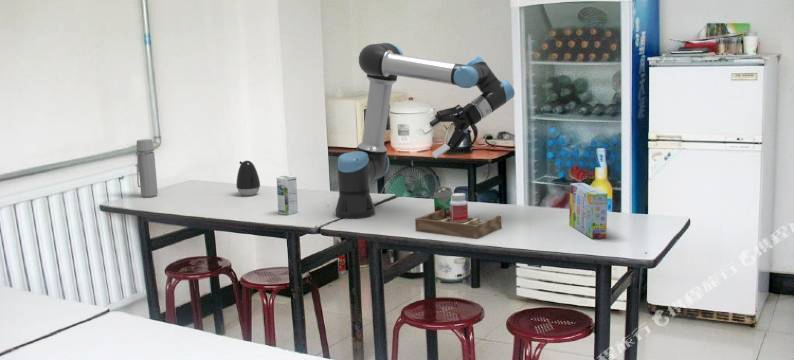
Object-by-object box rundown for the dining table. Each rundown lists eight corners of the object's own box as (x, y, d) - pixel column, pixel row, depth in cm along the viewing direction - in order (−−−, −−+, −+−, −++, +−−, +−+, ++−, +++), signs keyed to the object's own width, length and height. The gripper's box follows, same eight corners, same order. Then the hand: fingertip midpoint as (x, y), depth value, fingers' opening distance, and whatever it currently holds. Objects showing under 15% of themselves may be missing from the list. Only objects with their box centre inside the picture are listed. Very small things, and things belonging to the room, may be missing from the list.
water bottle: (150, 194, 381) (145, 138, 377) (162, 195, 376) (157, 139, 372) (133, 197, 374) (128, 141, 369) (145, 199, 369) (139, 142, 365)
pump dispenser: (252, 191, 378) (249, 157, 375) (265, 194, 370) (263, 160, 368) (232, 195, 371) (229, 161, 368) (245, 198, 363) (242, 163, 361)
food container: (450, 219, 310) (450, 192, 308) (434, 219, 311) (433, 192, 309) (455, 212, 322) (454, 186, 320) (439, 212, 323) (438, 186, 321)
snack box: (608, 238, 275) (608, 193, 273) (591, 239, 275) (591, 194, 272) (583, 224, 296) (583, 181, 293) (568, 225, 295) (568, 182, 292)
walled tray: (441, 220, 309) (441, 209, 308) (501, 227, 295) (501, 215, 294) (415, 230, 295) (415, 218, 294) (476, 238, 281) (476, 226, 280)
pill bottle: (471, 225, 294) (471, 194, 292) (457, 228, 291) (457, 196, 289) (460, 222, 299) (459, 191, 297) (446, 225, 296) (445, 194, 294)
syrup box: (277, 213, 330) (275, 177, 328) (289, 211, 334) (287, 174, 332) (287, 215, 326) (284, 178, 324) (298, 212, 331) (296, 176, 328)
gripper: (474, 92, 293) (425, 127, 289) (489, 138, 311) (442, 171, 308) (462, 81, 297) (413, 115, 294) (477, 127, 316) (431, 160, 313)
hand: (428, 144), depth 301 cm, fingers open, 13 cm apart
